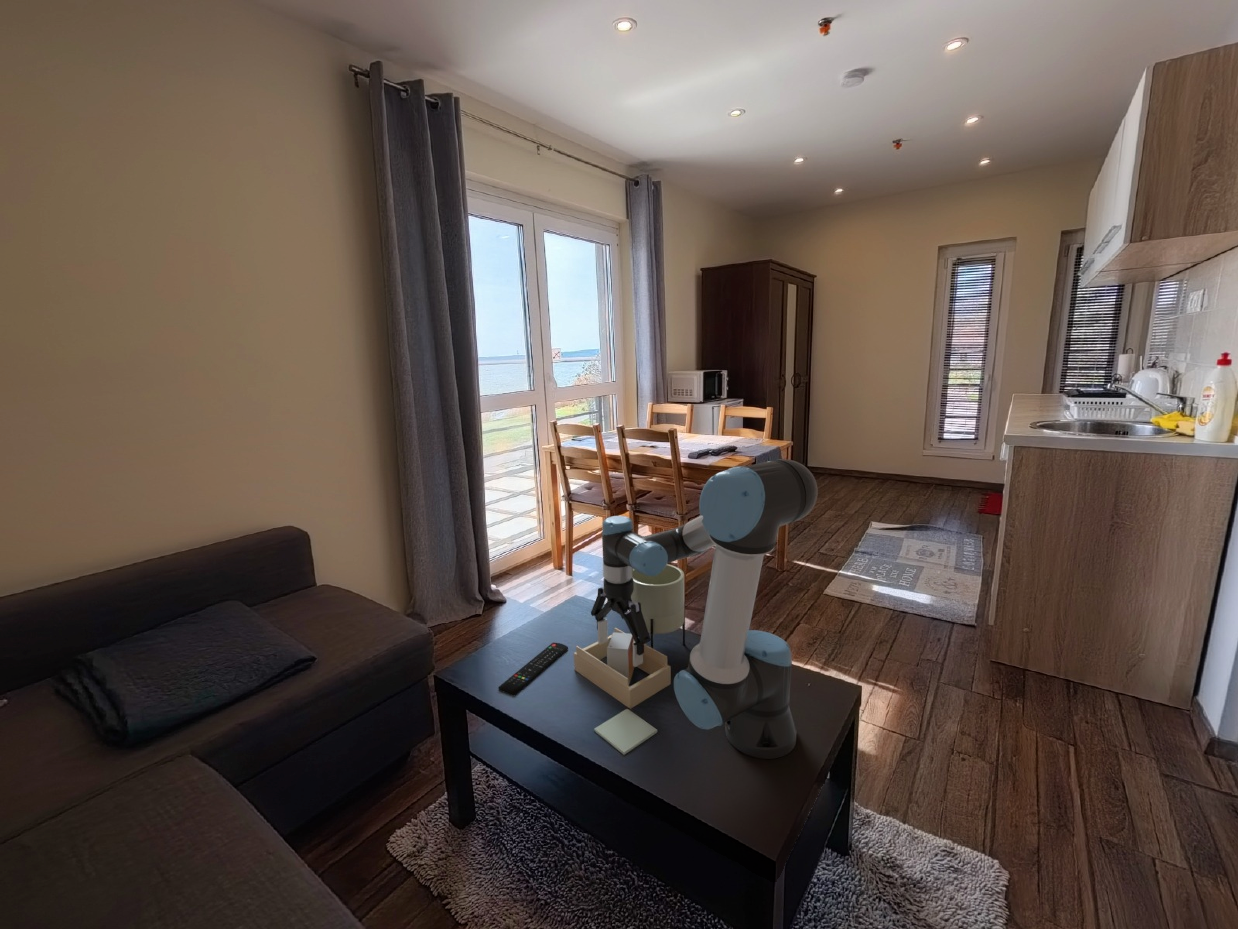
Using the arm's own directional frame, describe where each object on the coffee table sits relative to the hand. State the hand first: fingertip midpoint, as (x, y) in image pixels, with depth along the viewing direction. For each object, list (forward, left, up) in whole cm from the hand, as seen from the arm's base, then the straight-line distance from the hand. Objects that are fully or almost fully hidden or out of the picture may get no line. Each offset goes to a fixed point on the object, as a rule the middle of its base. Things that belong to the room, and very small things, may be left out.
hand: (619, 653), depth 141 cm
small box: (0, 0, -7) cm, 7 cm away
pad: (-16, +13, -7) cm, 22 cm away
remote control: (+19, +14, -7) cm, 24 cm away
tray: (0, 0, -7) cm, 7 cm away
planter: (+3, -16, -7) cm, 17 cm away
